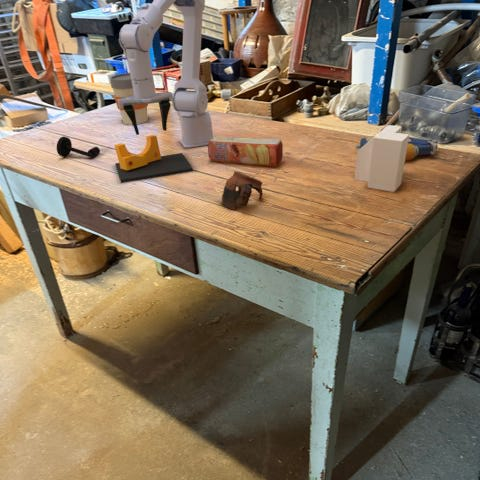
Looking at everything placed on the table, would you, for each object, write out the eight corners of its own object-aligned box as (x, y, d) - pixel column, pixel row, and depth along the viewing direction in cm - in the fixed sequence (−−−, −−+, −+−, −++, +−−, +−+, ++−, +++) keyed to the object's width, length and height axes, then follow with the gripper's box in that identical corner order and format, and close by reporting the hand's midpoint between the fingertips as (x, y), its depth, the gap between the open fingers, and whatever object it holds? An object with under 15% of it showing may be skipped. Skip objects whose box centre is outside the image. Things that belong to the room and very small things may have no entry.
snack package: (207, 162, 136) (205, 138, 132) (216, 155, 141) (214, 131, 137) (277, 169, 129) (276, 144, 125) (284, 161, 134) (284, 136, 130)
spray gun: (418, 168, 124) (441, 153, 132) (420, 152, 121) (444, 137, 130) (348, 155, 135) (374, 142, 144) (349, 140, 133) (375, 128, 142)
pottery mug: (215, 200, 116) (227, 167, 114) (250, 213, 119) (262, 181, 117) (223, 207, 105) (236, 171, 103) (261, 221, 108) (275, 186, 106)
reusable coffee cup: (149, 125, 170) (142, 79, 161) (115, 126, 170) (105, 81, 161) (154, 115, 180) (148, 71, 171) (122, 117, 180) (113, 73, 171)
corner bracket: (394, 192, 113) (402, 141, 106) (349, 184, 119) (354, 135, 111) (407, 176, 120) (415, 128, 113) (364, 169, 125) (370, 123, 118)
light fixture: (110, 155, 153) (87, 168, 143) (82, 146, 154) (57, 158, 145) (110, 136, 149) (86, 149, 139) (80, 128, 151) (55, 139, 141)
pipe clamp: (127, 170, 131) (121, 146, 127) (120, 168, 134) (114, 144, 130) (164, 159, 136) (159, 136, 133) (157, 157, 139) (152, 134, 136)
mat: (182, 155, 142) (182, 152, 142) (193, 170, 132) (192, 168, 131) (115, 165, 138) (115, 163, 138) (121, 182, 127) (120, 179, 127)
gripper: (115, 84, 118) (126, 139, 127) (172, 77, 121) (179, 131, 130) (112, 79, 124) (123, 132, 132) (167, 72, 127) (174, 125, 135)
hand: (151, 131), depth 131 cm, fingers open, 7 cm apart
